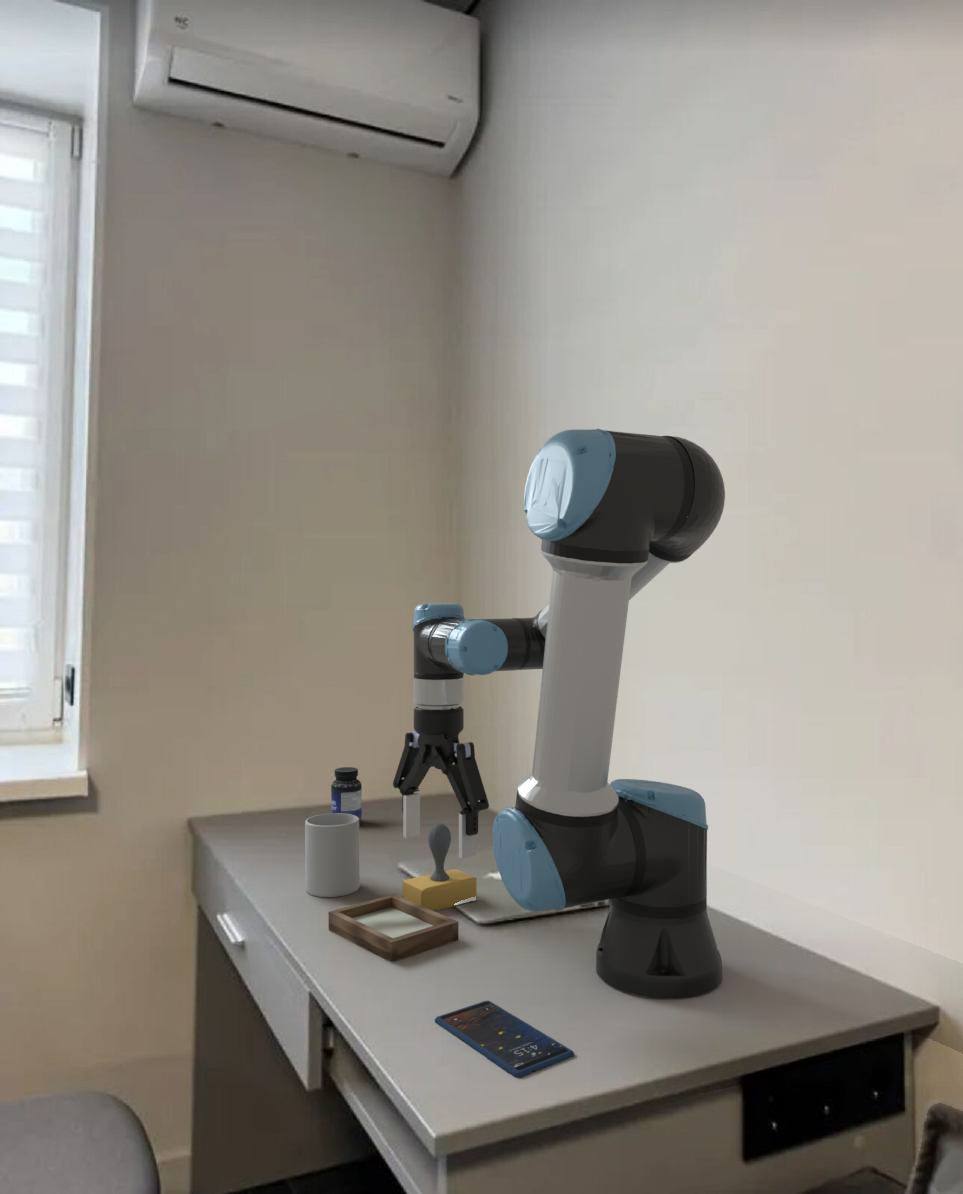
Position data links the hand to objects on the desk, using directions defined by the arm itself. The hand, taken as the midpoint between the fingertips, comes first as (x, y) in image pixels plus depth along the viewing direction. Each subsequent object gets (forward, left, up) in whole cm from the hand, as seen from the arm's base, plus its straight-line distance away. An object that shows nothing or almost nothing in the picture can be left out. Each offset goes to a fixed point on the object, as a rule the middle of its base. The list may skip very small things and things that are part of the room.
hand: (438, 845), depth 139 cm
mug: (+18, +8, -9) cm, 21 cm away
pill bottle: (+49, -15, -9) cm, 52 cm away
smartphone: (-38, +21, -9) cm, 44 cm away
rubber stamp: (0, 0, -9) cm, 9 cm away
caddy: (-6, +13, -8) cm, 17 cm away
